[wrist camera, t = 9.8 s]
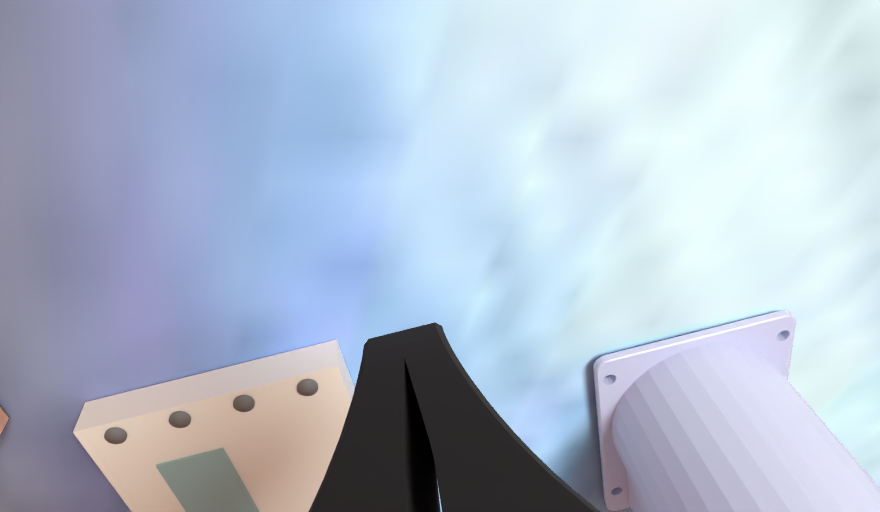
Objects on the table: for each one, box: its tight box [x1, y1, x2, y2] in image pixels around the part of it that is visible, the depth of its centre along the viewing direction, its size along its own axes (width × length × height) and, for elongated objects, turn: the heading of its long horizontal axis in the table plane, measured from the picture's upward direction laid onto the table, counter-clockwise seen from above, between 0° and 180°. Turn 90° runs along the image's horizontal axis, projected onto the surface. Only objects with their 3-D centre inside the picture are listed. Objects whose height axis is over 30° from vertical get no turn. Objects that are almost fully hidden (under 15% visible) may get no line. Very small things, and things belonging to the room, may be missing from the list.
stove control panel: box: [73, 340, 355, 512], centre depth 25 cm, size 12×9×3 cm
